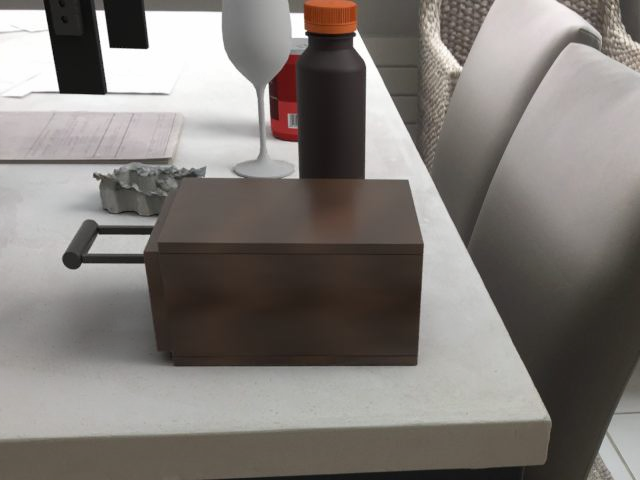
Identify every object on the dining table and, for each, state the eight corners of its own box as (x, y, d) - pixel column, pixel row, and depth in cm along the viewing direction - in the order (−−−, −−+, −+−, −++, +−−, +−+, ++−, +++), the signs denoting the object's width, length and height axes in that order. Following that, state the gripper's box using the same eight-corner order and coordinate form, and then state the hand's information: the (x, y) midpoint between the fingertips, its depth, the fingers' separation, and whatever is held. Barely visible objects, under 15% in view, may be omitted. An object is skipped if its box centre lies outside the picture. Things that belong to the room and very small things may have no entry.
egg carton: (93, 213, 94) (86, 173, 91) (124, 191, 100) (119, 152, 97) (188, 222, 92) (183, 181, 90) (215, 199, 98) (211, 160, 96)
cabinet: (173, 366, 68) (157, 242, 62) (195, 287, 79) (183, 177, 73) (417, 365, 69) (424, 243, 63) (403, 288, 80) (408, 179, 75)
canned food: (341, 135, 120) (341, 44, 113) (296, 145, 116) (292, 51, 109) (304, 123, 124) (302, 35, 118) (259, 133, 120) (254, 42, 113)
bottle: (374, 214, 96) (378, 1, 83) (348, 235, 91) (349, 11, 78) (317, 205, 97) (312, -5, 85) (288, 224, 92) (280, 4, 80)
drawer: (67, 351, 67) (45, 251, 62) (102, 280, 78) (86, 189, 73) (387, 351, 69) (390, 252, 64) (379, 281, 79) (381, 192, 74)
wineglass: (230, 161, 109) (215, -39, 97) (293, 159, 111) (286, -39, 98) (234, 180, 103) (218, -30, 91) (299, 178, 105) (293, -30, 92)
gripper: (53, -422, 37) (126, 119, 50) (160, -339, 57) (192, 34, 70) (-132, -432, 37) (-10, 115, 50) (40, -344, 56) (95, 31, 69)
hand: (108, 69), depth 60 cm, fingers open, 13 cm apart
